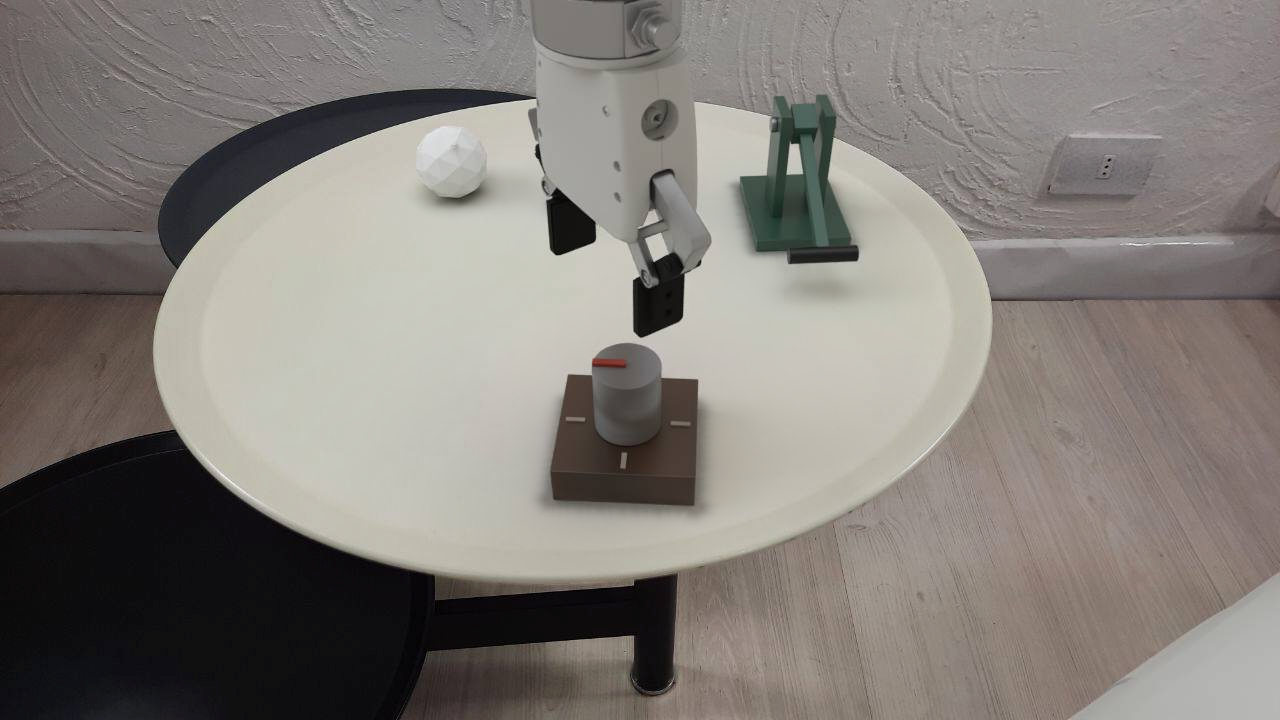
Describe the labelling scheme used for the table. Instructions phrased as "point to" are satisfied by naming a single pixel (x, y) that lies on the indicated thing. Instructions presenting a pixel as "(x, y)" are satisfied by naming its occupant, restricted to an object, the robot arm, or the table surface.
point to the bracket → (792, 187)
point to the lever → (814, 194)
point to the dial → (627, 393)
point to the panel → (626, 451)
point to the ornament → (451, 161)
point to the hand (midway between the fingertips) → (613, 285)
